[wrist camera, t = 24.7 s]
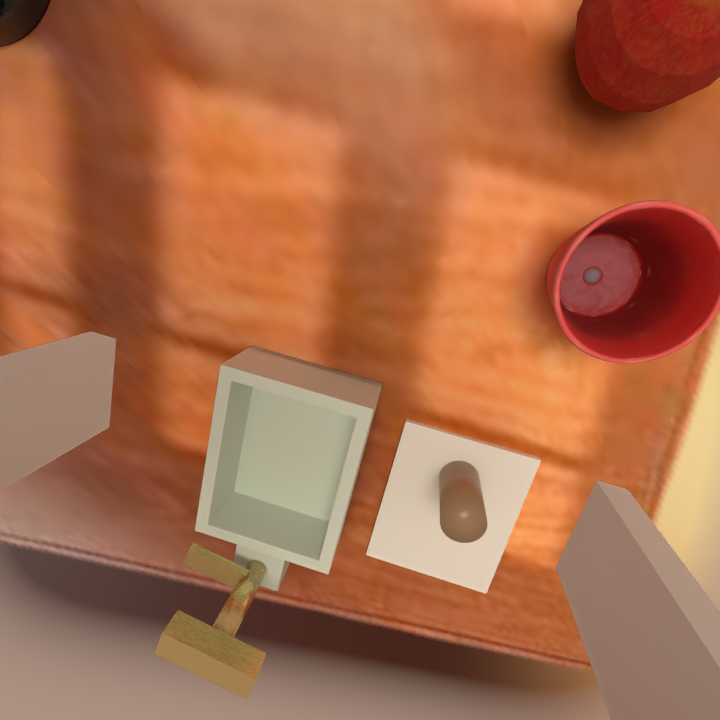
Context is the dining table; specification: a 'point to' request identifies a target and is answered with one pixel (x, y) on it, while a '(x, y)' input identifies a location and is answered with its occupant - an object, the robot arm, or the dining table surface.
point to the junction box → (283, 459)
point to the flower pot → (637, 281)
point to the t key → (217, 628)
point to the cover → (450, 505)
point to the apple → (647, 50)
